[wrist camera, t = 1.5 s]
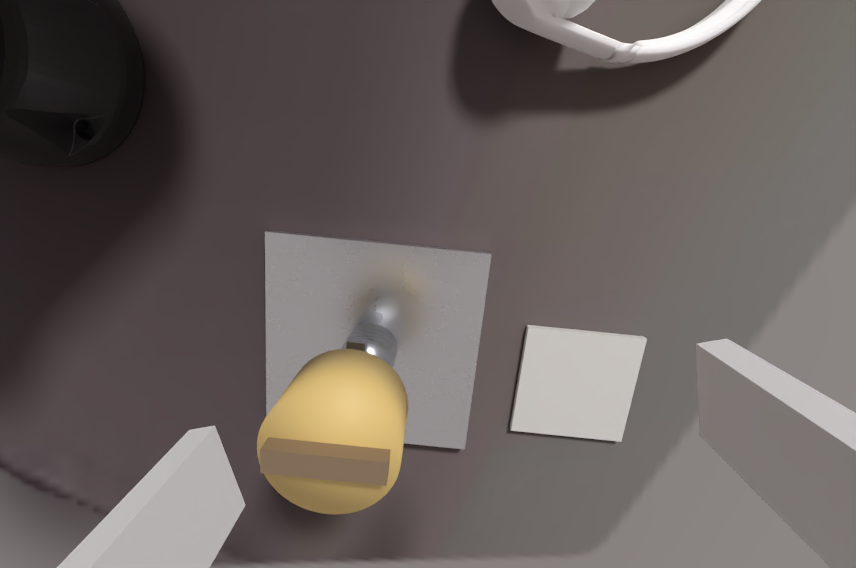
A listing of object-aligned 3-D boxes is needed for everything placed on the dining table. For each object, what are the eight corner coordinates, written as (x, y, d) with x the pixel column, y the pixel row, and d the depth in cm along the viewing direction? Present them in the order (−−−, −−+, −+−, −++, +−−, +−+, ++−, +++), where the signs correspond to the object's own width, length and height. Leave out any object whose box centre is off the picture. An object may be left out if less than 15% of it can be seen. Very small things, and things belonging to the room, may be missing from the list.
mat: (509, 426, 38) (510, 430, 37) (526, 324, 35) (528, 327, 35) (618, 437, 38) (621, 441, 37) (643, 336, 35) (646, 339, 35)
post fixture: (271, 421, 38) (215, 504, 29) (270, 229, 34) (203, 252, 24) (463, 441, 38) (471, 530, 29) (489, 251, 34) (509, 282, 24)
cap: (289, 448, 27) (249, 522, 22) (290, 342, 26) (247, 392, 20) (403, 459, 27) (393, 536, 22) (413, 355, 25) (405, 408, 20)
